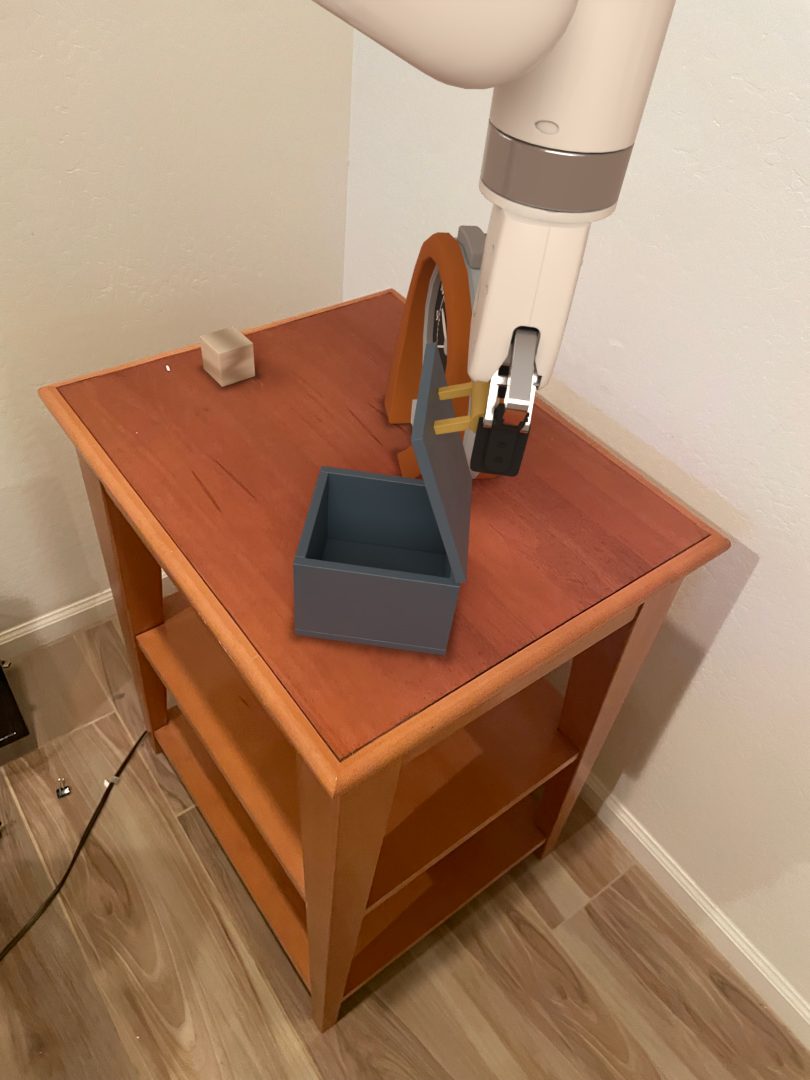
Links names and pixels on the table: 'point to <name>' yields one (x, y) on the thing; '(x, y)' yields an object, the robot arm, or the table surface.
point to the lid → (446, 454)
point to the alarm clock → (437, 330)
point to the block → (227, 356)
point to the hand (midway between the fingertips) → (494, 430)
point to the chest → (373, 564)
